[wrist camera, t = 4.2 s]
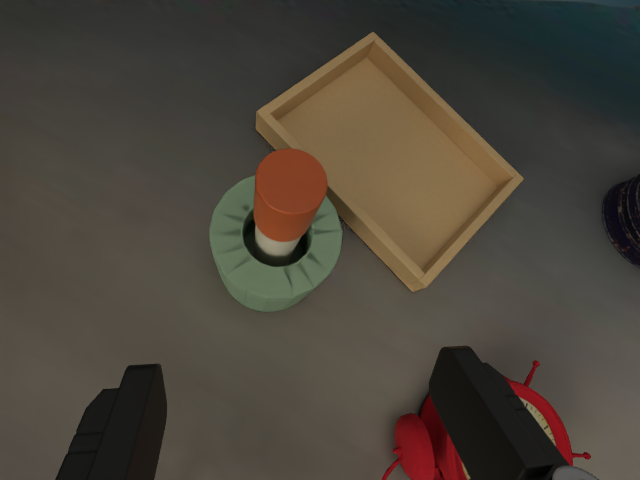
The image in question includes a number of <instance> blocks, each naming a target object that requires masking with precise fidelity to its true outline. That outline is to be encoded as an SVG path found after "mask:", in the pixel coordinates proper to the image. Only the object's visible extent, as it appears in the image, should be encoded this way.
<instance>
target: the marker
mask: <svg viewBox="0 0 640 480" xmlns="http://www.w3.org/2000/svg"><path fill="white" fill-rule="evenodd" d="M327 187H328V181H327V176H326V173H325V170H324V168H323V167H322V165H321V164H320V163H319V161H318V160H317V159H316V158H315V157H313V156H312V155H310V154H309V153H307V152H305V151H302V150H299V149H293V148H286V149H280V150H277V151H274V152H272V153H270V154H269V155H267V156H266V157H265V158H264V159H263V160H262V161H261V163H260V164H259V166H258V168H257V171H256V176H255V192H254V220H255V223H256V228H255V242H254V256H253V257H254V258H255V259H257V260H258V261H259V262H261V263H263V264H266V265H269V266H272V267H279V266H287V264H288V262H289V260H290V258H291V256H292V254H293V252H294V250H295V248H296V246H297V244H298V242H299V240H300V238H301V236H302V235H304V234H305V233H306V231H307V230H308V228H309V226H310V225H311V223H312V221H313V219H314V217H315V215H316V213H317V211H318V209H319V207H320V205H321V203H322V201H323V200H324V198H325V195H326V193H327Z"/></svg>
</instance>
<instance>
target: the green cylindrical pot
mask: <svg viewBox="0 0 640 480" xmlns="http://www.w3.org/2000/svg"><path fill="white" fill-rule="evenodd" d="M255 176H256V175H255ZM255 176H251V177H248V178H245V179H243V180H241V181H240V182H239V183H237V184H236V185H235V186H233V187H232V188H231V189H229V190H228V191H227V192H226V193H225V194H224V195H223V197H222V198H221V200H220V202H219V203H218V205H217V206H216V208H215V209H214V212H213V214H212V219H211V224H210V229H209V238H210V244H211V249H212V254H213V258H214V260H215V263H216V265H217V268H218V271H219V273H220V276H221V279H222V281H223V283H224V285H225V286H226V288H227V290H228V291H229V293H230V294H231V295H232V297H234V298H235V299H236V300H237V301H238V302H239V303H241V304H242V305H244V306H246V307H248V308H250V309H253V310H256V311H261V312H276V311H281V310H284V309H287V308H289V307H291V306H293V305H295V304H297V303H298V302H300V301H301V300H302V299H303V298H304V297H305V296H307V295H308V294H309V293H310V292H311V291H313V290H314V289H315V288H316V287H317V286H318V285H319V284H320V283H321V282H322V281H323V280H324V279H325V278H326V277H327V276H329V275H330V273H331V272H332V270H333V268H334V266H335V264H336V262H337V260H338V258H339V255H340V252H341V243H342V228H341V225H340V221H339V218H338V214H337V211H336V209H335V207H334V206H333V204H332V203H331V202H330V200H329V199H328V197H327V196H326V195H325V198H324V200H323V201H322V203H321V205H320V207H319V209H318V211H317V213H316V215H315V217H314V219H313V221H312V223H311V225H310V226H309V228H308V230H307V231H306V233H305V234H304V235H302V236H301V238H300V240H299V242H298V244H297V246H296V248H295V250H294V252H293V254H292V256H291V258H290V260H289V262H288V264H287V266H279V267H272V266H269V265H266V264H263V263H261V262H259V261H258V260H257V259H255V258H254V257H253V256H254V242H255V228H256V223H255V220H254V192H255Z"/></svg>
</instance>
